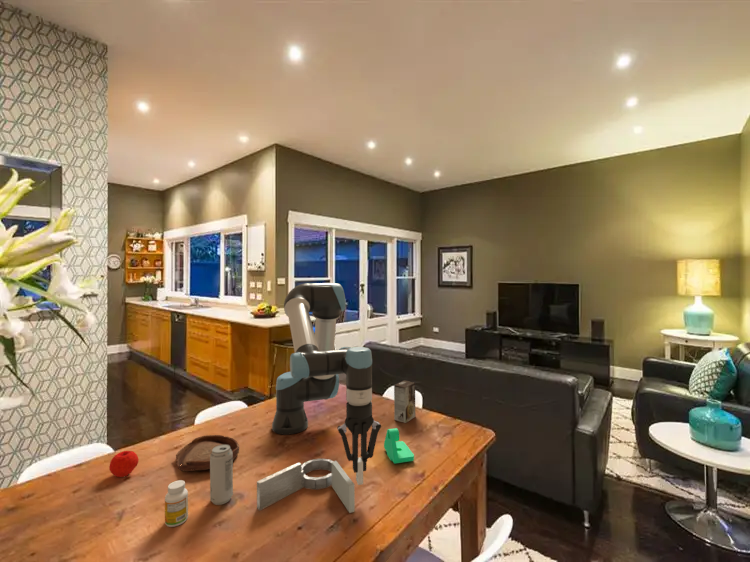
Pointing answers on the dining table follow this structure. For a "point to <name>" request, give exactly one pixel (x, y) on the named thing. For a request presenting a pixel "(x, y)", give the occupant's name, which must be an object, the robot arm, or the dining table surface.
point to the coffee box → (404, 401)
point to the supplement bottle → (176, 504)
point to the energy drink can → (221, 474)
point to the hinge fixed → (292, 481)
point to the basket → (202, 452)
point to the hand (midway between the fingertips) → (359, 481)
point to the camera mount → (397, 447)
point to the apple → (123, 463)
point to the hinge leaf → (343, 486)
